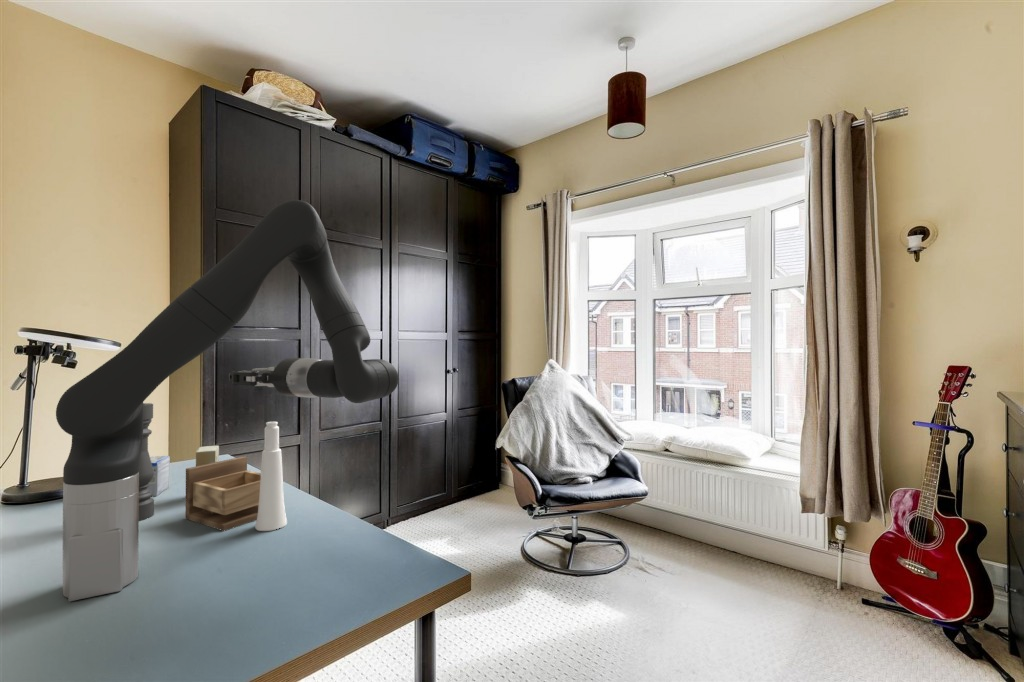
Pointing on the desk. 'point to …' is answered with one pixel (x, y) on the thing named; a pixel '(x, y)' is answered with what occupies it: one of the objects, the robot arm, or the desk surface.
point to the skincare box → (207, 455)
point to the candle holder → (146, 468)
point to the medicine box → (159, 474)
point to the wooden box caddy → (222, 493)
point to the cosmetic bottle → (271, 483)
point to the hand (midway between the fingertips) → (251, 375)
